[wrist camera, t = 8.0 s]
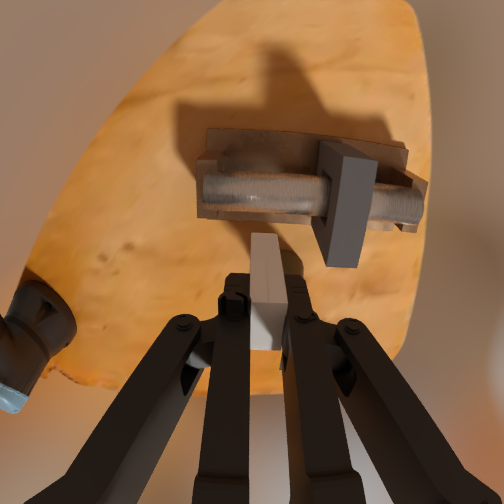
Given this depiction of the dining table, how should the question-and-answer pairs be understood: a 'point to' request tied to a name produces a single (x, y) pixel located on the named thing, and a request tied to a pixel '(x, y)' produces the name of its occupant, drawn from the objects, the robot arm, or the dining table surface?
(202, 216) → the pipe rig
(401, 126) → the dining table surface
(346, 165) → the collar
